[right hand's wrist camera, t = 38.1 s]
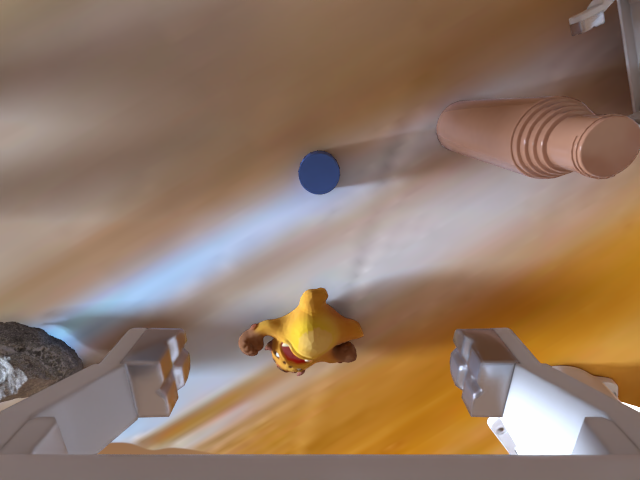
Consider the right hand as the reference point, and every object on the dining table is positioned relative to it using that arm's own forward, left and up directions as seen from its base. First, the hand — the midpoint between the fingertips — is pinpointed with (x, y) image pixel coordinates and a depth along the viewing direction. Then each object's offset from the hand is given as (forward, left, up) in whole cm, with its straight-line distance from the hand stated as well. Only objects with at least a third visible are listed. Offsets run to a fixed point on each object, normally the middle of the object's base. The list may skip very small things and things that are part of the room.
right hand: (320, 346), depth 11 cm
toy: (+12, -17, -32) cm, 38 cm away
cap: (0, 0, -30) cm, 30 cm away
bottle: (+8, +14, -32) cm, 36 cm away
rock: (-13, -45, -32) cm, 56 cm away
